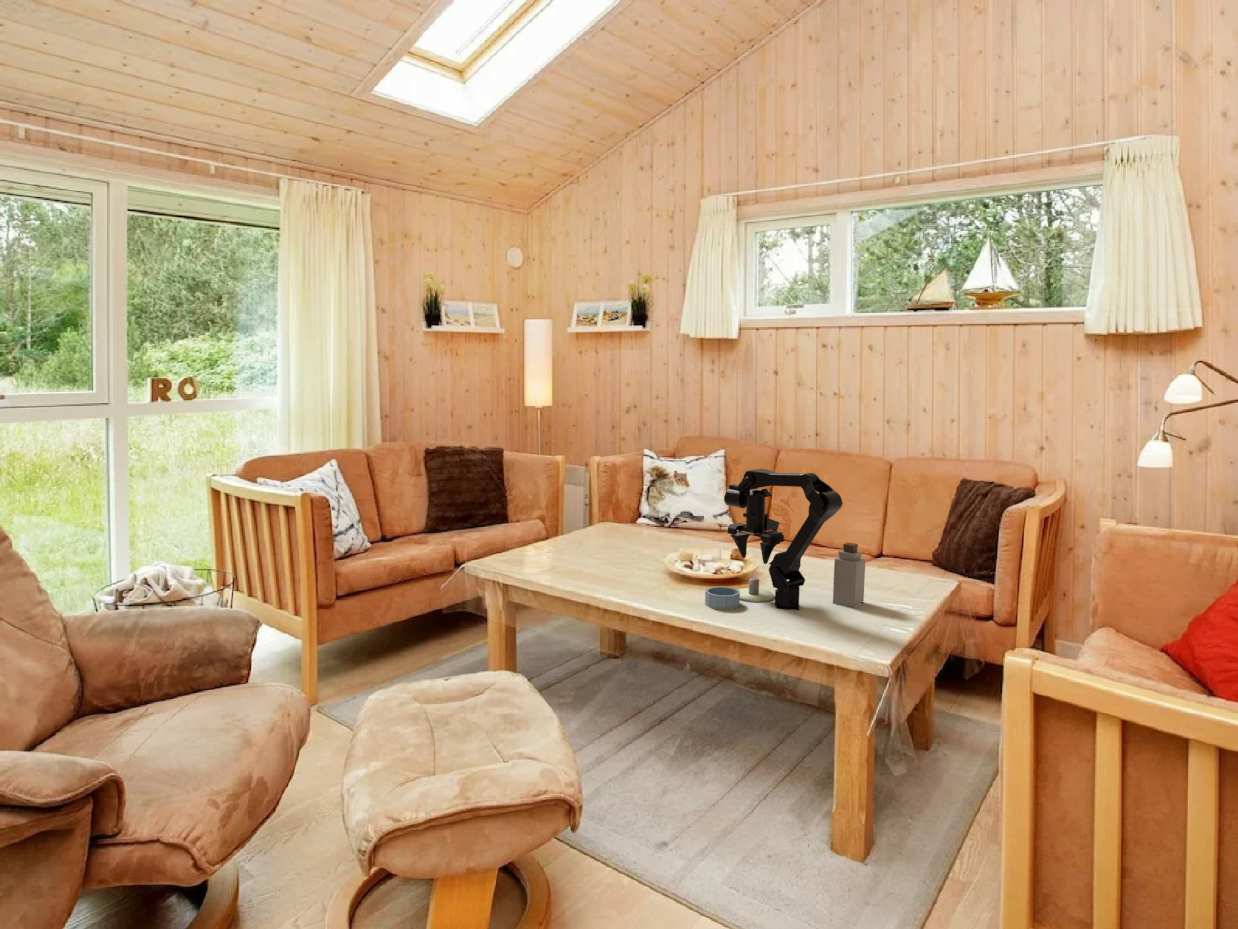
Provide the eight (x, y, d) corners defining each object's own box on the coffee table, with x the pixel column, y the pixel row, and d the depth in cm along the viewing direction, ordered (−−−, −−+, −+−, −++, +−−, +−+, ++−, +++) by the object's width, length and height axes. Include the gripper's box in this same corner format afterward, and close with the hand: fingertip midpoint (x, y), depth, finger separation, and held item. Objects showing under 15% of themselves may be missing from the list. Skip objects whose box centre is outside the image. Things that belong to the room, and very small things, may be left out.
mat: (774, 592, 241) (775, 591, 241) (775, 604, 229) (775, 603, 229) (733, 590, 244) (733, 589, 244) (731, 602, 231) (731, 601, 231)
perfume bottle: (842, 598, 236) (844, 540, 233) (863, 602, 231) (866, 543, 229) (832, 603, 231) (835, 544, 228) (854, 607, 226) (857, 547, 224)
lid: (773, 591, 241) (773, 575, 240) (773, 603, 229) (774, 585, 228) (734, 589, 243) (735, 573, 242) (733, 600, 231) (733, 583, 231)
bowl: (739, 601, 232) (740, 587, 231) (738, 611, 222) (739, 597, 222) (706, 599, 234) (706, 585, 233) (704, 609, 224) (704, 595, 224)
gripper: (797, 512, 230) (795, 563, 232) (752, 503, 245) (751, 551, 247) (770, 516, 223) (769, 568, 225) (727, 506, 239) (726, 556, 240)
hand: (754, 560), depth 235 cm, fingers open, 9 cm apart
